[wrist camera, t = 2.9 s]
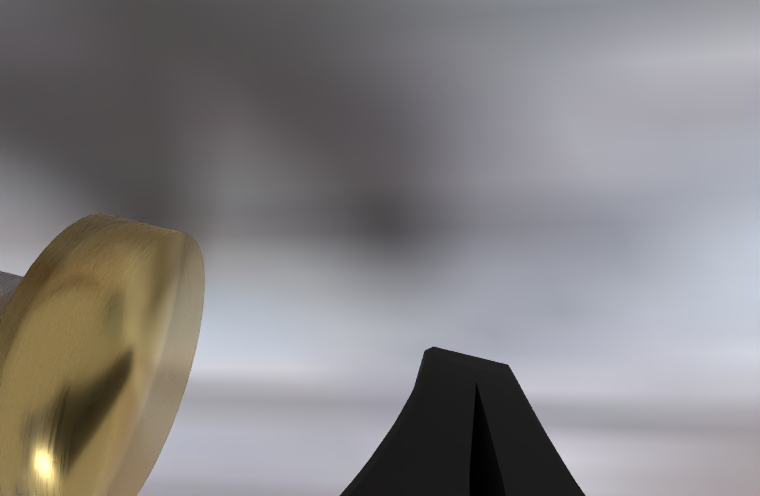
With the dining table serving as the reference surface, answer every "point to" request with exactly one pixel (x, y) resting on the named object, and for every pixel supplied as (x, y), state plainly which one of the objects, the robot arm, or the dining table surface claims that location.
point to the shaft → (96, 357)
